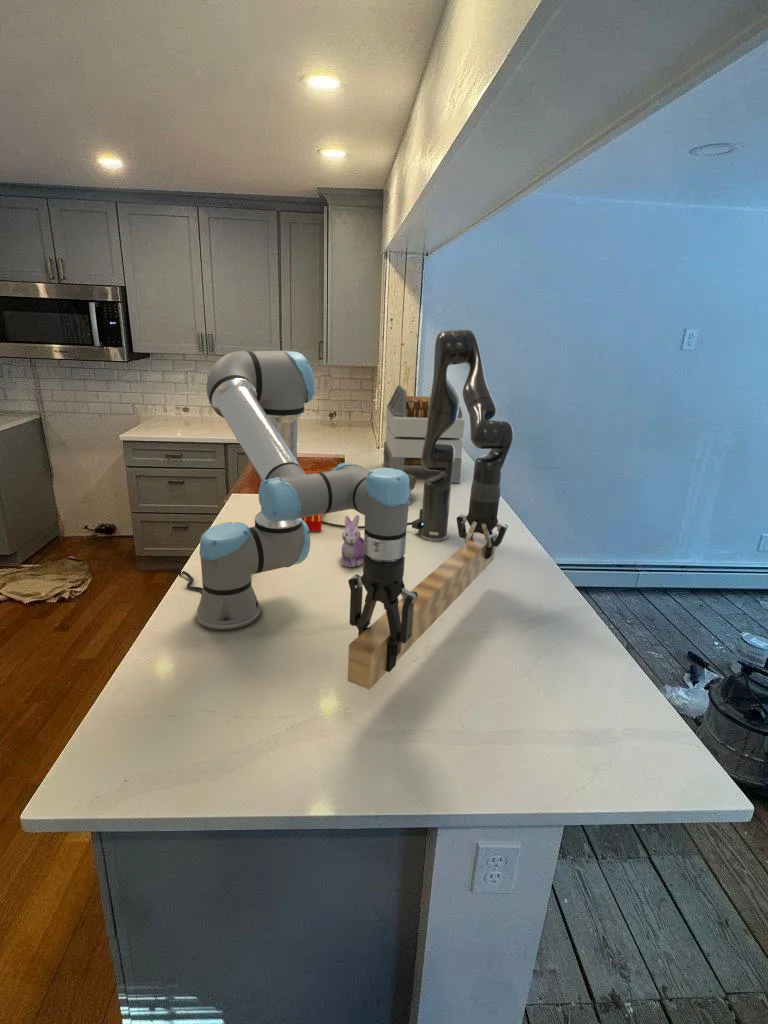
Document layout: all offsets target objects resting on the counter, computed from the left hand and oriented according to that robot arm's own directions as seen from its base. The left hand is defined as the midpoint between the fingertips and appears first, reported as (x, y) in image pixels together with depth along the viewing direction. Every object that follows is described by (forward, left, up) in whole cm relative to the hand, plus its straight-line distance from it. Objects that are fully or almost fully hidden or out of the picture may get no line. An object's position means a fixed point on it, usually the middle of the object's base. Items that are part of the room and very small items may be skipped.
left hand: (378, 663), depth 110 cm
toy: (-81, +70, -10) cm, 108 cm away
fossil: (-69, +111, -10) cm, 131 cm away
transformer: (-84, +150, -10) cm, 173 cm away
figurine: (-45, +50, -10) cm, 68 cm away
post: (-3, +27, -1) cm, 27 cm away
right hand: (-6, +54, +3) cm, 54 cm away
